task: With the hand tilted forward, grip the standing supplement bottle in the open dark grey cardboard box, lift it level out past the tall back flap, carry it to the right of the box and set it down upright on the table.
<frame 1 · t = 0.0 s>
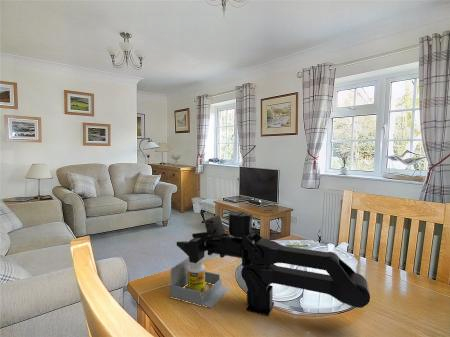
hand: (185, 239, 86), 17 cm above the table, tool horizontal, fingers open, 9 cm apart
carton: (197, 291, 85), on the table
supplement bottle: (196, 292, 85), resting in carton
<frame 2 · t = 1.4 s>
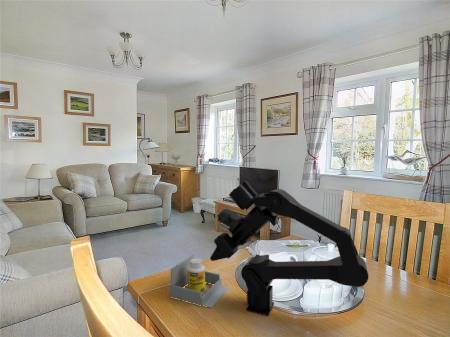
hand: (218, 254, 81), 13 cm above the table, tool tilted 45°, fingers open, 9 cm apart
nothing on the table moved.
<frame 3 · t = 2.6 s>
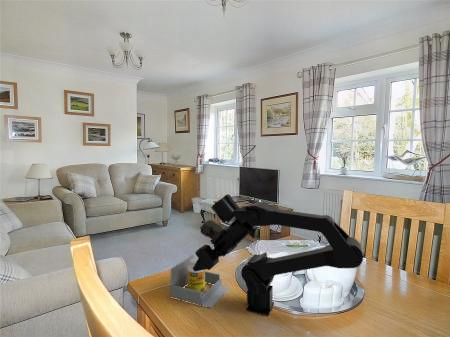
hand: (201, 264, 84), 9 cm above the table, tool tilted 45°, fingers open, 9 cm apart
nothing on the table moved.
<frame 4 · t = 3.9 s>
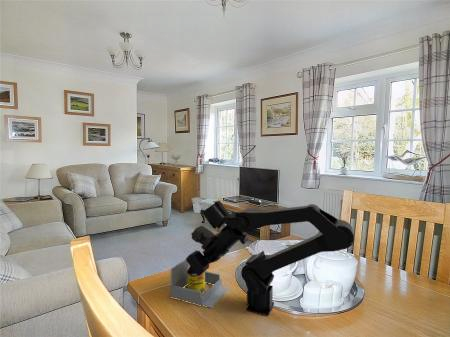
hand: (193, 269, 85), 7 cm above the table, tool tilted 45°, fingers closed on supplement bottle, 6 cm apart
supplement bottle: (196, 292, 85), resting in carton, touching gripper
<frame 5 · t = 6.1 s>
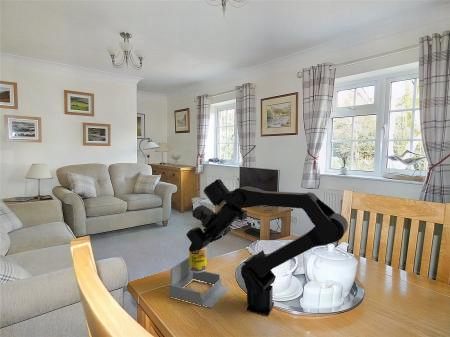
hand: (195, 247, 87), 13 cm above the table, tool tilted 45°, fingers closed on supplement bottle, 6 cm apart
supplement bottle: (198, 270, 87), point 6 cm above the table, touching gripper
when the fingers open (8 cm above the table, at t = 8.5 s): supplement bottle stays where it is, on the table.
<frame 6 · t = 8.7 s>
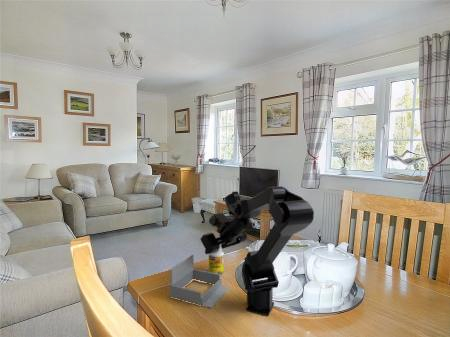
hand: (213, 250, 98), 9 cm above the table, tool tilted 45°, fingers open, 8 cm apart
supplement bottle: (216, 274, 98), on the table
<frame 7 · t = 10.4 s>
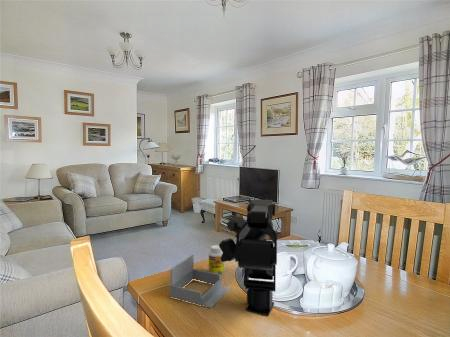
hand: (230, 256, 92), 9 cm above the table, tool tilted 45°, fingers open, 9 cm apart
nothing on the table moved.
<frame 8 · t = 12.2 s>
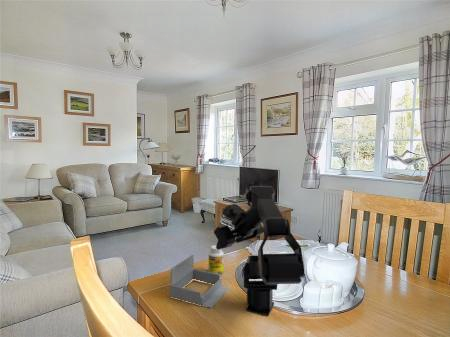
hand: (226, 244, 89), 14 cm above the table, tool tilted 45°, fingers open, 9 cm apart
nothing on the table moved.
at the end: supplement bottle inside the target area (0.1 cm from its centre), on the table; supplement bottle tilted 0°; the gripper is holding nothing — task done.
